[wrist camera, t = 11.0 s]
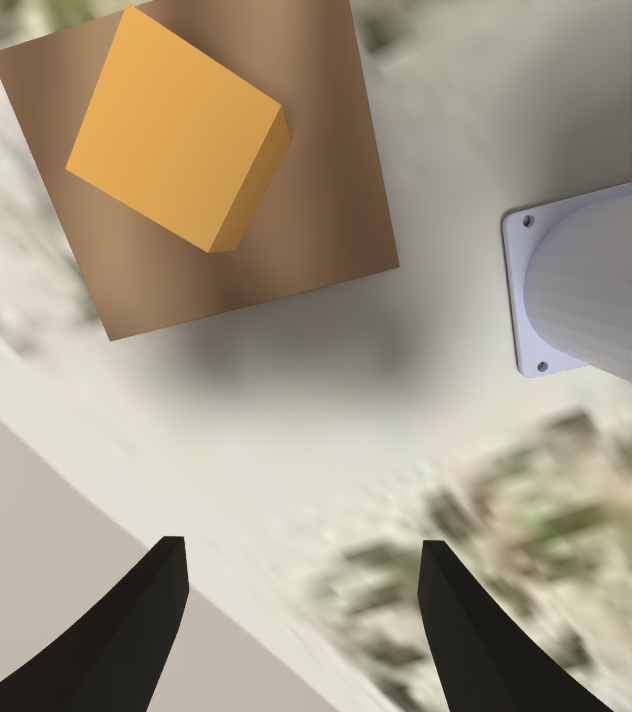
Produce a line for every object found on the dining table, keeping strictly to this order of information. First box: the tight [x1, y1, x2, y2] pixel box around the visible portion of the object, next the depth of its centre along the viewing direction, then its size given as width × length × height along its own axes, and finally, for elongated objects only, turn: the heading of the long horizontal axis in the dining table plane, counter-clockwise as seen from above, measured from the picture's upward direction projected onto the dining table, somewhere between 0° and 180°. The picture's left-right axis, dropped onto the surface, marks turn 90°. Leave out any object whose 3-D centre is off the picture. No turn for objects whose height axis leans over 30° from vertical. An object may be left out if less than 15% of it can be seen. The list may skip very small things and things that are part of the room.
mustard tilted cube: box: [65, 2, 291, 253], centre depth 14 cm, size 5×5×4 cm
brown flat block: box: [0, 0, 400, 341], centre depth 15 cm, size 14×12×4 cm
